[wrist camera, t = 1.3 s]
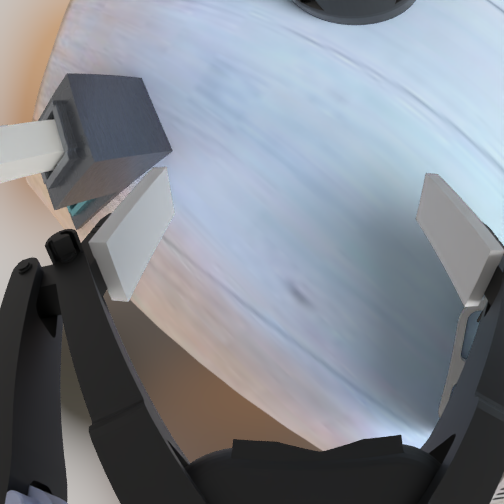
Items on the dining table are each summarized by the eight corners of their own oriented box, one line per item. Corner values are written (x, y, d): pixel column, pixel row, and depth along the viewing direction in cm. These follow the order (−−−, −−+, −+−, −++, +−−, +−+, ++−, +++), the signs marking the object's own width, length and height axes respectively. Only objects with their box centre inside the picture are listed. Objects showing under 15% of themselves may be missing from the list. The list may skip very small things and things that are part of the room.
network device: (463, 266, 25) (506, 421, 9) (534, 265, 21) (619, 398, 5) (429, 435, 32) (404, 561, 16) (483, 434, 28) (475, 557, 12)
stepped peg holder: (59, 170, 50) (1, 184, 39) (140, 75, 35) (57, 69, 24) (80, 228, 52) (21, 250, 41) (172, 150, 37) (84, 163, 26)
